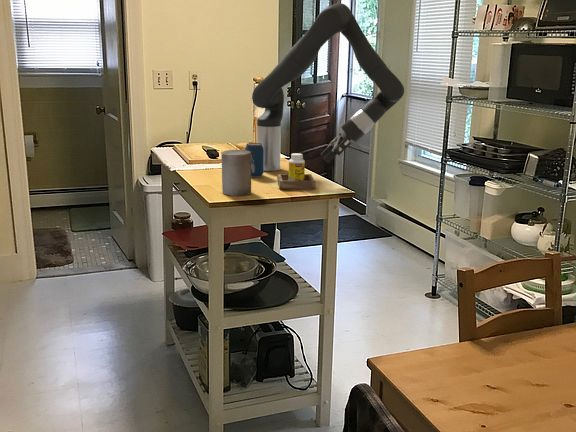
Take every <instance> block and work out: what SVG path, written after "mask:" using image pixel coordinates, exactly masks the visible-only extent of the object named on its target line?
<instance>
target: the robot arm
mask: <svg viewBox="0 0 576 432" xmlns="http://www.w3.org/2000/svg"><path fill="white" fill-rule="evenodd" d="M338 33H341V35H342V36H343V37H345V38H346V40H347V41H348V43H349V44H350V47H351V48H352V51H353V54H354V56H355V60H356V61H357V63H358V65H359V66H360V68H361V69H362V71H363V72H364V73H365V75H366V76H367V77H368V78H369V79H370V80H371V82H373V83H374V84H375V85H376V86H377V88H378V89H379V91H378V92H377V94H376V95H375V96H374V97H372V98H371V99H370V100H368V101H367V102H366V103H365V104H364V105H362V107H361V108H360V109H359V110H357V111H356V112H355V113H354V114H353V115H352V116H351V117H349V118H348V120H347V121H346V122H345V123H343V125H342V126H341V127H340V129H341V130H342V131H343V133H341V132H339V133H338V135H336V136H335V137H334V138H333V139H332V140H331V141H330V142H329V143H328V145H327V147H326V148H325V149H324V150H323V151H322V152H321V153H320V156H321V157H322V158H323V160H324V162H326V163H327V164H329V163H330V162H331V161H333V160H334V158H335V157H338V156H340V155H341V154H342V153H343V152H345V150H346V149H347V148H348V147H349V146H350V145H351V144H352V142H351V141H353V143H356V144H357V143H358V141H360V140H361V139H362V138H363V137H364V136H366V134H367V133H368V132H370V131H371V129H372V128H373V126H375V124H376V123H377V122H378V121H380V119H381V118H383V116H384V115H385V114H386V112H388V111H389V110H390V109H391V108H392V107H393V106H395V105H396V104H397V103H398V102H399V101H400V100H401V99H402V98H403V96H404V94H405V87H404V85H403V83H402V82H401V80H400V79H399V78H398V77H397V76H396V75H395V74H394V73H393V72H392V70H390V69H389V67H388V66H387V64H386V63H385V62H384V60H383V59H382V58H381V56H380V55H379V54H378V53H377V52H376V50H375V48H374V47H373V46H372V45H371V43H370V42H369V40H368V38H367V37H366V35H365V33H364V31H363V29H361V27H360V25H359V23H358V21H357V18H356V17H355V16H354V14H353V12H352V10H351V9H350V7H349V6H347V4H345V3H341V2H339V3H333V4H332V5H328V6H326V7H324V8H323V9H322V10H320V13H319V14H318V15H317V17H316V18H315V19H314V21H313V23H312V24H311V26H310V27H309V29H308V30H307V31H306V32H305V33H304V34H303V35H302V36H300V38H299V40H297V42H296V43H295V44H293V46H292V47H291V48H290V50H289V51H287V53H286V54H285V55H284V57H283V58H282V59H281V60H280V61H279V62H278V63H277V65H276V66H275V67H274V68H273V69H272V70H271V72H270V73H268V75H266V77H264V78H263V79H262V80H261V81H260V82H259V83H258V84H257V85H256V86H255V87H254V88H253V91H252V95H251V100H252V103H253V104H254V105H255V107H257V108H258V109H259V108H260V109H264V111H263V113H262V115H260V116H258V117H257V118H256V143H261V144H262V147H263V149H264V172H274V171H280V170H281V142H282V141H281V134H282V133H281V129H282V128H281V127H282V126H281V125H282V120H283V118H284V117H283V116H284V104H285V103H284V102H285V101H284V100H285V98H284V97H285V94H284V89H283V88H284V87H285V86H286V85H288V84H289V83H291V82H293V81H295V80H297V79H299V78H300V77H301V76H303V75H304V73H305V72H307V70H308V69H309V68H310V67H311V66H312V65H313V64H314V62H315V60H317V59H316V58H317V56H318V54H319V52H320V50H321V48H322V47H323V46H324V45H325V44H326V43H327V42H328V41H329V40H330V39H331V38H332V37H333V36H335V35H336V34H338Z"/></svg>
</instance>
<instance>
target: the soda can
mask: <svg viewBox="0 0 576 432" xmlns="http://www.w3.org/2000/svg"><path fill="white" fill-rule="evenodd" d="M244 150H247V151H250V152H251V178H261V177H263V174H264V172H265V171H264V149H263V147H262V144H261V143H257V142H248V143H246V146H245V148H244Z"/></svg>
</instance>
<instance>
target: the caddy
mask: <svg viewBox="0 0 576 432" xmlns="http://www.w3.org/2000/svg"><path fill="white" fill-rule="evenodd" d="M288 177H289V173H287V174H286V173H285V174H284V173H280V174H279V173H277V186H278V187H279V191H300V190H301V191H306V190H307V191H315V190H316V180H315V178H314V177H313V175H312V174H311V173H308V174H307V173H305V174H304V181H288Z"/></svg>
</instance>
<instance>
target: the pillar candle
mask: <svg viewBox="0 0 576 432" xmlns="http://www.w3.org/2000/svg"><path fill="white" fill-rule="evenodd" d="M221 183H222V185H221V188H222V191H221V192H222V195H227V196H231V197H240V196H241V197H243V196H248V195H250V194H252V177H251V152H250V151H247V150H245V149H238V148H237V147H236V149H228V150H227V149H226V150H224V151H221Z"/></svg>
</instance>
